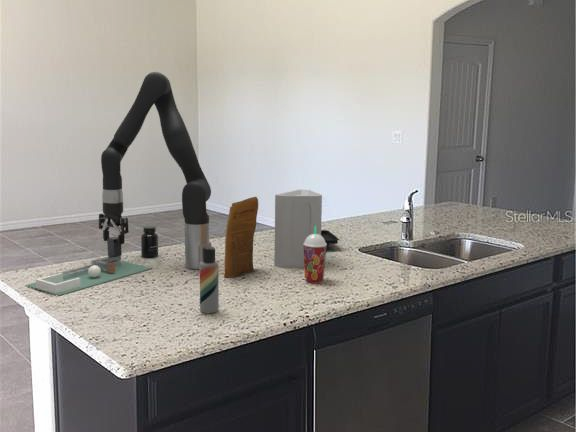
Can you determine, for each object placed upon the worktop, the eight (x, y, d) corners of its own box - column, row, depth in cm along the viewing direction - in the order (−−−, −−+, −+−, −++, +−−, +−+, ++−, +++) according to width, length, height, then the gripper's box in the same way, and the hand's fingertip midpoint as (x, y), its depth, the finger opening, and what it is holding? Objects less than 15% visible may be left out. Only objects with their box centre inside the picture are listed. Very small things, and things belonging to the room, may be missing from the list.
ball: (103, 277, 222) (103, 265, 222) (93, 279, 219) (93, 267, 218) (95, 274, 225) (95, 263, 224) (85, 277, 221) (85, 265, 220)
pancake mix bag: (263, 269, 237) (264, 196, 232) (231, 280, 222) (230, 203, 217) (250, 266, 241) (250, 194, 236) (217, 277, 226) (216, 201, 220)
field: (152, 268, 235) (152, 267, 235) (58, 296, 202) (58, 295, 202) (120, 261, 245) (120, 260, 245) (25, 286, 212) (25, 285, 212)
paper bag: (306, 272, 234) (307, 198, 229) (273, 266, 242) (274, 194, 236) (330, 261, 250) (332, 192, 244) (299, 256, 257) (300, 189, 252)
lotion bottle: (200, 307, 193) (199, 244, 189) (218, 307, 194) (218, 244, 190) (199, 313, 188) (198, 249, 184) (218, 313, 188) (218, 249, 184)
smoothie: (328, 279, 226) (329, 225, 222) (322, 285, 218) (323, 229, 214) (306, 276, 228) (307, 223, 224) (299, 282, 220) (300, 227, 217)
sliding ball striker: (136, 266, 235) (135, 240, 233) (111, 273, 226) (110, 246, 224) (116, 261, 242) (115, 236, 240) (90, 268, 232) (89, 242, 230)
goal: (80, 286, 211) (80, 278, 210) (55, 293, 203) (55, 285, 202) (61, 281, 217) (61, 272, 216) (36, 288, 209) (35, 279, 208)
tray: (268, 245, 275) (268, 234, 274) (297, 236, 294) (297, 225, 293) (327, 256, 259) (327, 243, 258) (353, 245, 278) (354, 234, 277)
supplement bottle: (154, 258, 250) (153, 229, 248) (138, 257, 251) (137, 228, 249) (161, 254, 257) (160, 226, 254) (145, 253, 258) (144, 225, 256)
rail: (121, 264, 239) (120, 260, 238) (57, 281, 216) (57, 277, 216) (113, 262, 241) (113, 258, 241) (50, 279, 218) (49, 275, 218)
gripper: (133, 201, 234) (134, 243, 237) (108, 197, 242) (109, 237, 245) (117, 204, 228) (118, 247, 231) (92, 199, 236) (93, 241, 239)
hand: (113, 242), depth 238 cm, fingers open, 8 cm apart
